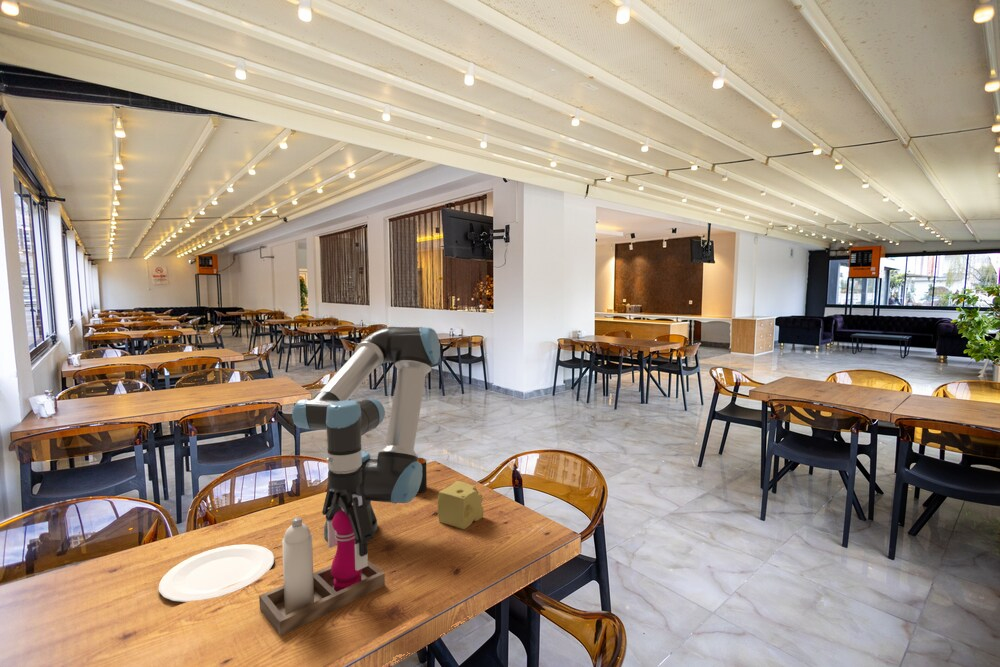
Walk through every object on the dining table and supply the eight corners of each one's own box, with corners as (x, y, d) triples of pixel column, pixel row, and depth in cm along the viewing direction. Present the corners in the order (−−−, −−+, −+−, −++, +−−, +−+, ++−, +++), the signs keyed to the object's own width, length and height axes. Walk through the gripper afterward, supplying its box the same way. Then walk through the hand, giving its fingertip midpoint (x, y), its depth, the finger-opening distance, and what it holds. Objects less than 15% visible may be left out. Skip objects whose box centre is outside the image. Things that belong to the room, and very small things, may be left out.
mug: (409, 499, 164) (408, 470, 163) (401, 487, 175) (400, 459, 174) (432, 495, 167) (432, 466, 166) (423, 483, 178) (422, 456, 177)
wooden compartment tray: (280, 641, 96) (279, 621, 96) (259, 613, 105) (259, 595, 104) (384, 590, 113) (384, 573, 113) (359, 569, 122) (359, 554, 121)
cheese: (483, 517, 151) (483, 486, 150) (463, 531, 142) (463, 498, 141) (457, 509, 156) (457, 479, 156) (436, 522, 147) (436, 491, 146)
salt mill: (280, 607, 105) (277, 519, 103) (307, 595, 109) (304, 510, 107) (291, 621, 101) (288, 529, 99) (318, 607, 105) (316, 519, 103)
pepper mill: (354, 596, 109) (351, 512, 107) (325, 592, 110) (322, 509, 108) (368, 578, 116) (366, 498, 114) (341, 574, 117) (339, 496, 116)
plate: (256, 539, 137) (256, 534, 137) (289, 576, 119) (289, 569, 119) (149, 575, 120) (149, 568, 120) (170, 623, 102) (169, 616, 102)
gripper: (306, 459, 117) (309, 542, 118) (356, 488, 99) (358, 585, 101) (335, 452, 122) (337, 532, 124) (388, 478, 104) (389, 571, 106)
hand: (347, 556), depth 112 cm, fingers open, 13 cm apart
